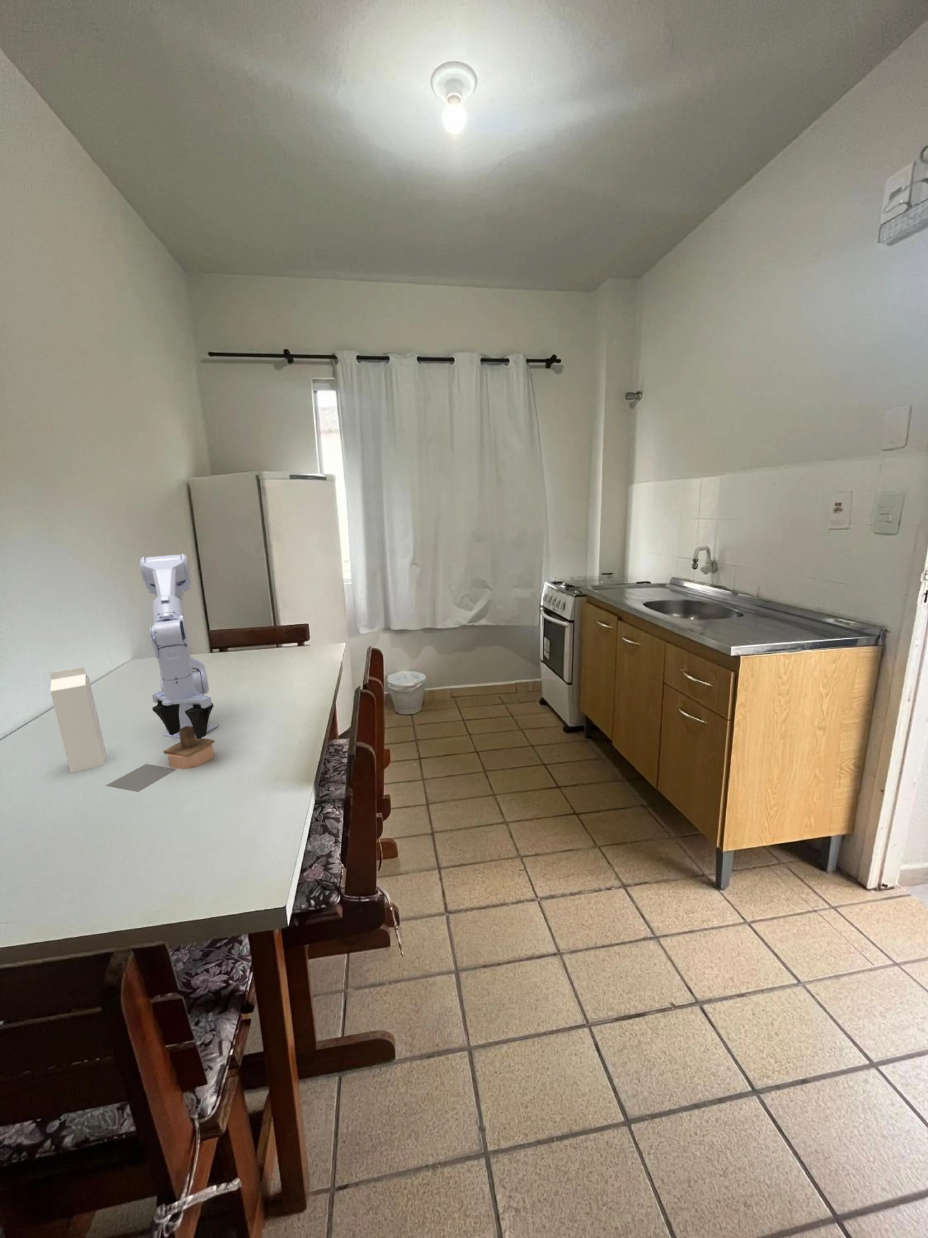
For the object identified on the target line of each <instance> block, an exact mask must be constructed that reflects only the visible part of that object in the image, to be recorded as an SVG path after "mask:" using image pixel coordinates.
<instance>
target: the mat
mask: <svg viewBox="0 0 928 1238" xmlns="http://www.w3.org/2000/svg"><path fill="white" fill-rule="evenodd" d="M177 770H178V768H172V767H168V766H161V765H155V764H150V763H149V764H148V763H145V764H143V765H141V766H139V767H137V768H136V769H134V770H132V771H130V772H129V773H126V774H124V775H122V776H121V777H119V778H117V779H115V780H113V781H112V782H110V783H108V784H106V785H105V787H111V788H116V789H121V790H126V791H130V792H131V791H132V792H136V793H139V792H140V791H143V790H144V789H145V788H147V787H149V786H150V785H153V784H154V783H156V782H158V781H159V780H161V779H163V778H164V777H166V776H168V775H170V774H171V773H174V772H175V771H177Z"/></svg>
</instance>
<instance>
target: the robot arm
mask: <svg viewBox="0 0 928 1238" xmlns="http://www.w3.org/2000/svg"><path fill="white" fill-rule="evenodd" d="M139 567H140V572H141V573H140V574H141V576H142V579H143V582H144V585H145V587H146V589H147V590H148V592H149V593H150V594H152V595H155V596H157V597H156V598H154V600H153V601H152V604H151V609H152V610H151V611H152V612H151V613H152V614H151V615H152V625H149V636H150V643H151V646H152V647H153V650H154V653H155V658H156V659H157V661H158V666H159V675H160V676H159V677H160V678H159V679H160V683H159V684H160V690H159V691H157V692H155V693H153V694H151V697H152V701H153V702H152V703H154V704H156V705H154V706H153V707H152V709H151V710H152V711H153V713H154V714H156V715H157V716H158V717H159V718H160V720H161V722H162V724H163V725H164V726H165V728H166V729H165V730H166V733H164V734H163V735H164V737H168V738H177V739H180V735H179V729H181V728H183V727H185V726H190V727H193V730H194V734H195V737H196V738H197V739H200V738H204V737H206V736H207V733H208V732H211V731H212V730H214V729H216V728H218V727H219V725H218V724H216V723H215V724H214V723H210V722H209V720H210V719H209V718H210V715H211V713H212V710H213V708H214V703H213V702H212V698H211V697H212V696H210V695H207V694H208V692H209V691H210V685H209V680H208V675H207V670H206V667H205V664H204V663H203V662H202V661H200V660H198V659H196V658H194V657H192V655H191V649H190V645H189V644H190V642H189V633H188V627H187V624H186V623H187V622H186V617H185V612H184V606H183V601H184V593H185V592H187V591H189V590H190V589H191V585H192V581H191V574H190V565H189V561H188V557H187V555H186V554H184V553H181V554H171V555H160V556H159V555H157V556H147V557H145V556H142V557H141V558H140V559H139Z"/></svg>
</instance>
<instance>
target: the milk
mask: <svg viewBox="0 0 928 1238" xmlns="http://www.w3.org/2000/svg"><path fill="white" fill-rule="evenodd" d="M49 676H50V689H49V690H50V695H51V700H52V704H53V706H54V712H55V715H56V719H57V724H58V727H59V732H60V736H61V740H62V743H63V744H62V745H63V748H64V751H65V752H64V753H65V756H66V759H67V764H68V767H69V768H68V769H69V771H70V774H71V773H77V772H80V771H83V770H88V769H93V768H96V767H97V768H98V767H100V766H104V765H105V762H106V759H107V755H108V754H107V750H106V745H105V742H104V737H103V733H102V728H101V724H100V720H99V715H98V711H97V706H96V702H95V697H94V693H93V689H92V683H91V680H90V676H88V675H87V674H86V669H85V668H84V667H82V666H81V667H77V668H70V669H63V670H60V671H52V672H50V673H49Z"/></svg>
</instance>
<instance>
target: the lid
mask: <svg viewBox="0 0 928 1238" xmlns="http://www.w3.org/2000/svg"><path fill="white" fill-rule="evenodd" d="M179 735H180V738H179V740H180V742H178V743H175V744H174V745H172V746H170V747H168V748H166V749H164V750H163V752H162V753H163V754H164V755H165V754H166V755H168V754H170V755H177V756H183V757H190V756H192V755H193V754H195V753H197V752H199V751H200V750H202V749H204V748H206V747H207V746H209V745H211V744H213V745H214V743H215V739H212V738H204V737H202V738H200V739H197V738H196V737H195V734H194V730H193V727H190V726H185V727H183V728H181V729H179Z"/></svg>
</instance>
